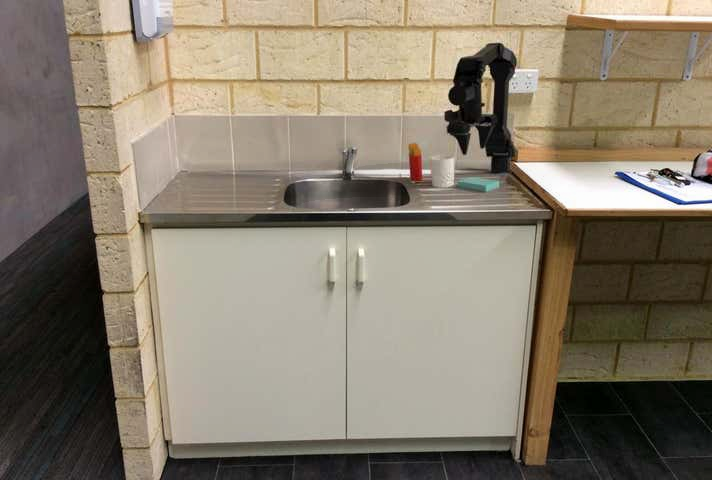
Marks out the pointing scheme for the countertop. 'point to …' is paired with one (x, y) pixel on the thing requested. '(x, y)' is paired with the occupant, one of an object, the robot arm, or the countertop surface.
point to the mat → (476, 190)
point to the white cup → (442, 170)
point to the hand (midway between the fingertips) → (473, 151)
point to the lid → (478, 184)
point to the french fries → (415, 162)
